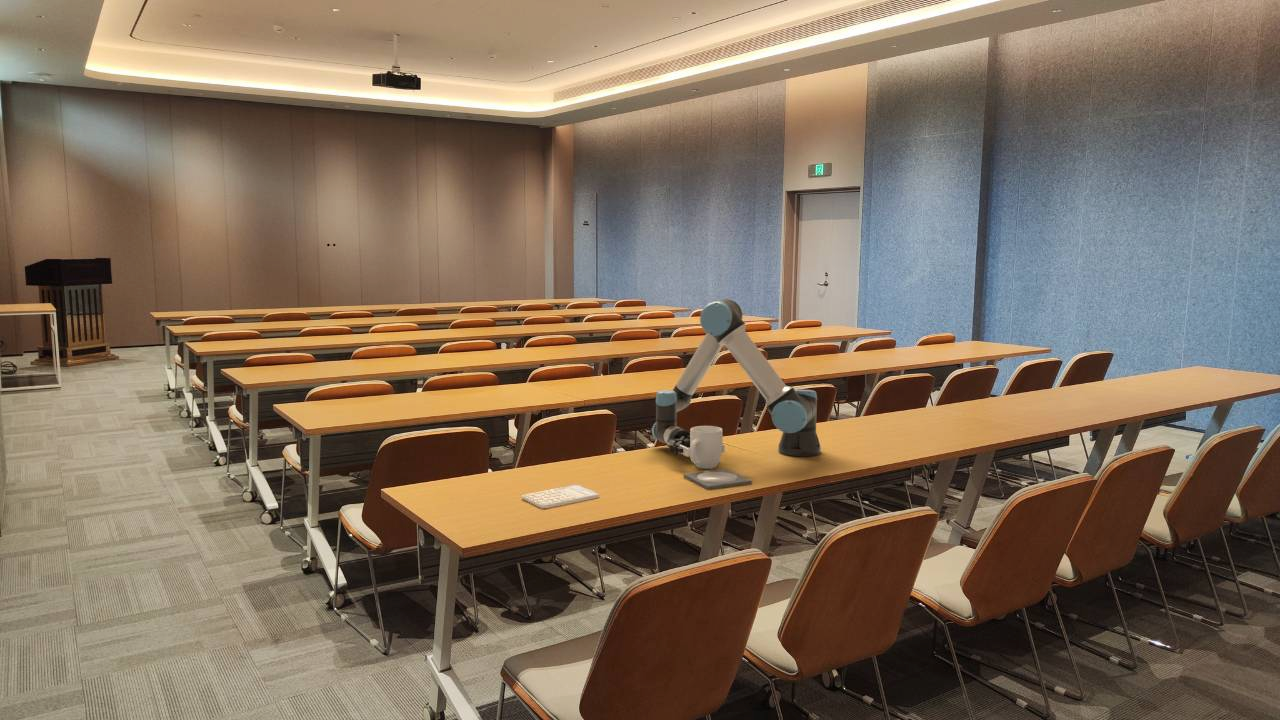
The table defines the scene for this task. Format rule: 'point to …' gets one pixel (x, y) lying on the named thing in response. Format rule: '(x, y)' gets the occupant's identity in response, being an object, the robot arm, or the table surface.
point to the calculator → (560, 496)
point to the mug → (706, 446)
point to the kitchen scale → (717, 479)
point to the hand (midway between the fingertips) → (706, 450)
